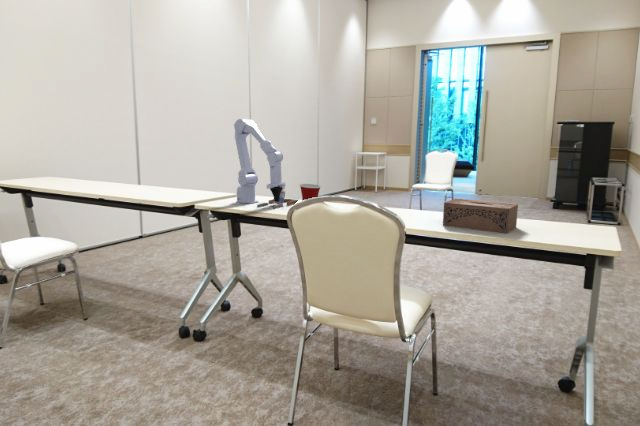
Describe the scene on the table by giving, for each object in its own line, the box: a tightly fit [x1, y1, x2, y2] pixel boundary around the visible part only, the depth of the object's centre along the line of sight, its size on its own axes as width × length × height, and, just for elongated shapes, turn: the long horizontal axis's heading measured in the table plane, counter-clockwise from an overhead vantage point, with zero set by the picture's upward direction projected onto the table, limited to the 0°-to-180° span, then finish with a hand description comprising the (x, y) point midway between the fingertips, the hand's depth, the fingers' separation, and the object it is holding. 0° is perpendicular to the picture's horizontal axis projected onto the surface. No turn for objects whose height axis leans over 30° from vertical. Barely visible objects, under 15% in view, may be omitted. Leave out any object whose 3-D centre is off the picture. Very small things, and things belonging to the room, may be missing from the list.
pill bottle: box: [272, 185, 286, 205], centre depth 241 cm, size 6×5×10 cm
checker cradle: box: [256, 202, 284, 210], centre depth 235 cm, size 10×8×1 cm
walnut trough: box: [268, 198, 299, 206], centre depth 246 cm, size 12×10×2 cm
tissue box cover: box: [442, 198, 519, 235], centre depth 190 cm, size 26×14×10 cm, turn 55°
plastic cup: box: [299, 183, 322, 201], centre depth 230 cm, size 11×11×12 cm
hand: (276, 201), depth 238 cm, fingers closed, pressing on pill bottle
